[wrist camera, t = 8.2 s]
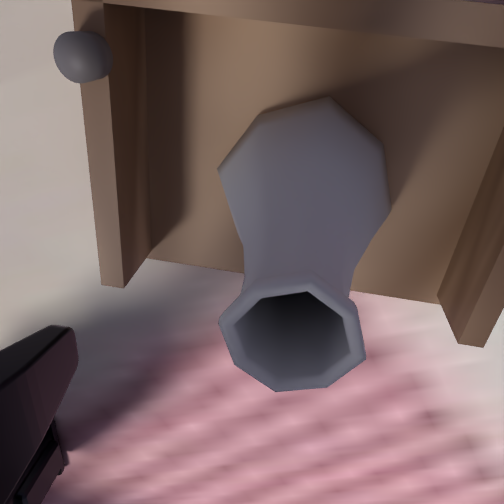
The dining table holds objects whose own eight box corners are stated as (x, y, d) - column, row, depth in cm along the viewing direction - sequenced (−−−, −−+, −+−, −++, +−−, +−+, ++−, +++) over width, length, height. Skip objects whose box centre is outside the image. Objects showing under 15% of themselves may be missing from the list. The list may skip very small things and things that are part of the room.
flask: (278, 281, 20) (249, 473, 12) (189, 160, 18) (70, 288, 9) (420, 213, 18) (519, 397, 9) (338, 59, 15) (367, 107, 7)
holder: (133, 249, 21) (86, 307, 17) (118, -28, 15) (40, -47, 11) (455, 300, 20) (492, 375, 16) (574, 21, 14) (687, 21, 10)
